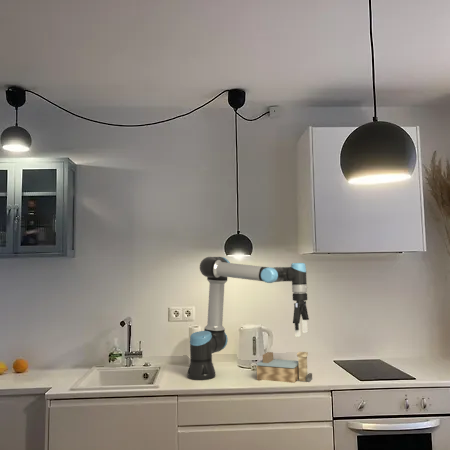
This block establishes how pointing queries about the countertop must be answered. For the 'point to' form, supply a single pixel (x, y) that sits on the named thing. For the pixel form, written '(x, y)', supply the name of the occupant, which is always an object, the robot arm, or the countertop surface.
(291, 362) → the lid
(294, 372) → the toolbox
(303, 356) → the beige wooden tall block
